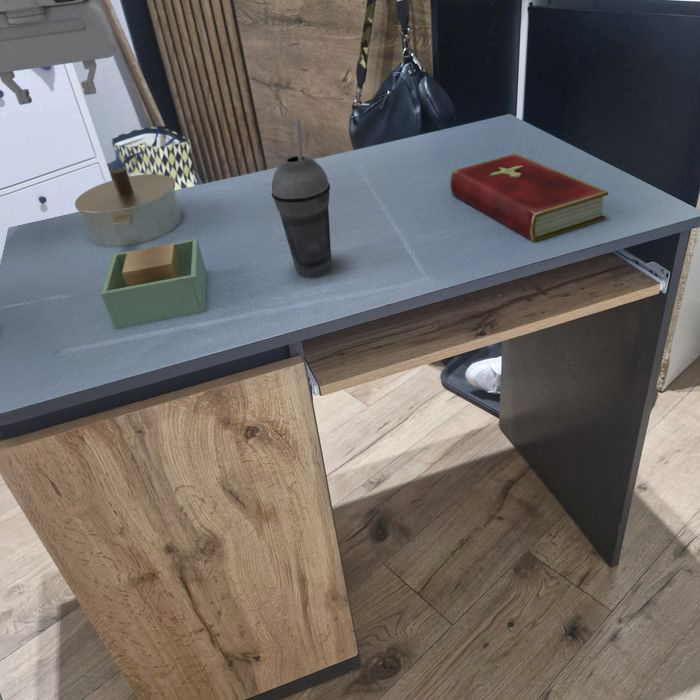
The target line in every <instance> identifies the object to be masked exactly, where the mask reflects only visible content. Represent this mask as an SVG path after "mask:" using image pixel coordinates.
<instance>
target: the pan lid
mask: <svg viewBox="0 0 700 700" xmlns="http://www.w3.org/2000/svg"><path fill="white" fill-rule="evenodd" d="M109 173H110V175H111V179H112V180H109V181H106V182H103V183H100V184H98V185H95V186H94V187H91V188H89V189H88V190H86V191H84V192H83V193H82V194H80V195H79V196H78V197H77V198H76V200H75V201H74V206H75V209H76V210H77V211H78V212H79V213H80V214H81V213H84V214H89V215H109V214H117V213H123V212H127V211H132V210H135V209H139V208H142V207H145V206H148V205H150V204H153V203H155V202H157V201H159V200H161V199H163V198H165V197H166V196H168V195H169V194H170V193H171V192H172V191H173V190H174V191H175V187H176V182H175V180H174V179H173V178H172V177H170V176H168V175H165V174H159V173H155V174H154V173H152V174H151V173H145V174H136V175H130V176H129V174H128V171H127V168H125V167H118V168H115V169H112V170H111V171H110V172H109Z"/></svg>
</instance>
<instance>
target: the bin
mask: <svg viewBox="0 0 700 700" xmlns="http://www.w3.org/2000/svg"><path fill="white" fill-rule="evenodd" d="M173 243H174V245H175V249H176V252H177V255H178V259H179V262H180V265H181V269H182V272H183V275H184V276H183V277H178V278H172V279H167V280H162V281H156V282H151V283H146V284H141V285H135V286H130V287H127V285H126V282H125V280H124V277H123V274H122V271H123V267H124V263H125V259H126V255H127V252H130V251H131V250H128V251H122V252H117V253H113V254H112V256H111V260H110V263H109V266H108V269H107V273H106V276H105V280H104V283H103V285H102V289H101V292H100V293H101V294H100V295H101V298H102V301H103V302H104V305H105V308H106V310H107V313H108V316H109V318H110V320H111V321H110V322H111V323H112V326H113V327H114V328H113V329H115V330H117V329H122V328H127V327H132V326H138V325H142V324H147V323H152V322H158V321H163V320H168V319H174V318H179V317H184V316H188V315H194V314H200V313H204V312H205V313H206V312H207V269H206V265H205V261H204V258H203V254H202V251H201V247H200V244H199V240H198V238H193V239H188V240H183V241H176V242H172V243H171V242H170V244H173ZM168 244H169V243H166V244H164V245H168ZM162 245H163V244H160V245H159V246H162ZM157 246H158V245H155V246H153V247H157ZM151 247H152V246H150V247H149V246H148V248H151ZM146 248H147V247H145V248H143V249H146ZM141 249H142V248H140V249H137V250H141ZM135 250H136V249H134V250H132V251H135Z"/></svg>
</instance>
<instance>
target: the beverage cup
mask: <svg viewBox="0 0 700 700" xmlns="http://www.w3.org/2000/svg"><path fill="white" fill-rule="evenodd" d="M301 126H302V125H301V119H296V120H295V127H296V145H297V146H296V147H297V155H294V156H291V157H288V158H286V159H284V160H283V161H282V162H281V163H280V164H279V165H277V167H276V169H275V171H274V173H273V177H272V180H271V181H272V182H271V197H272V199H273V200H274V205H275V206H276V210H277V212H278V213H279V216H280V220H281V223H282V226H283V231H284V233H285V237H286V241H287V244H288V247H289V251H290V254H291V259H292V262H293V265H294V268H295V270H296V272H297V274H298V276H299V277H301V278H306V279H307V278H308V279H312V278H313V279H314V278H319V277H322V276H325V275H326V274H328V273H329V272H330V271H331V269H332V247H331V246H332V245H331V230H330V212H329V211H330V209H329V205H330V190H331V184H330V183H329V180H328V176H327V173H326V171H325V170H324V168H323V167H322V166H321V165H320V164H319V163H318V162H317V161H316V160H314V159H313V158H311V157H308V156H305V155H303V144H302V128H301Z"/></svg>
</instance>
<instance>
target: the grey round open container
mask: <svg viewBox="0 0 700 700" xmlns="http://www.w3.org/2000/svg"><path fill="white" fill-rule="evenodd" d="M80 214H81V217H82V220H83V223H84V226H85V228H86V231H87V234H88V236H89V239H90V240H91V241H92V243H94V245H98V246H101V247H105V248H116V247H117V248H118V247H119V248H120V247H121V248H122V247H127V246H133V245H139V244H143V243H146V242H149V241H152V240H155V239H158V238H161V237H162V236H165V235H166V234H168V233H170V232H172V231H173V230H174V229H175V228H176V227H177V226H178V225H179V224H181V222H182V212H181V209H180V205H179V201H178V198H177V195H176V191H175V189H174V190H173V191H172V192H171V193H170V194H169V195H168V196H166V197H165V198H163V199H161V200H159V201H157V202H155V203H153V204H150V205H148V206H145V207H142V208H139V209H135V210H132V211H127V212H123V213H117V214H109V215H89V214H84V213H81V212H80Z"/></svg>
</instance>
